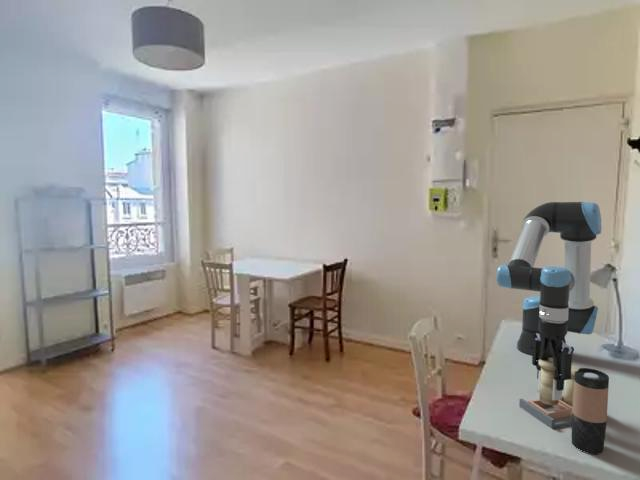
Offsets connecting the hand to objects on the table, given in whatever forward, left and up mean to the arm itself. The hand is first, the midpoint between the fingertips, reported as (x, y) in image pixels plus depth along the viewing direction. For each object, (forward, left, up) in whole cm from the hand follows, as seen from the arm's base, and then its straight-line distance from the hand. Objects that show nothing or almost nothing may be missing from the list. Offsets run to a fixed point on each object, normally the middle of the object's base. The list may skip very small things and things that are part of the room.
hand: (549, 394), depth 126 cm
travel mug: (+16, -2, -7) cm, 17 cm away
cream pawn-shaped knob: (0, 0, -2) cm, 2 cm away
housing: (0, +5, -6) cm, 8 cm away
